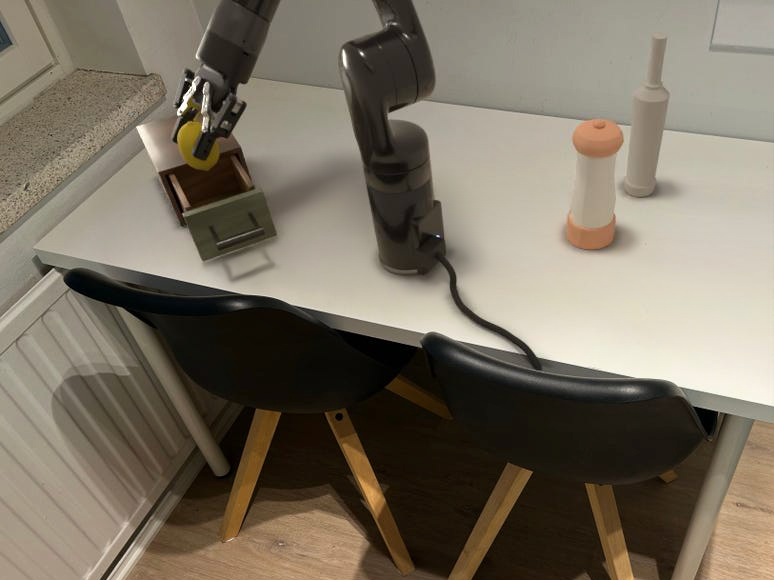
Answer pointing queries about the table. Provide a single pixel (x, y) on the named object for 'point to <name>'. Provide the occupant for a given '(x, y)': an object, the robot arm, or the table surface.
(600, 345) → the table surface
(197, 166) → the lemon
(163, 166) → the cabinet
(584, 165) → the pepper shaker
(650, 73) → the bottle
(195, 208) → the drawer
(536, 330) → the table surface
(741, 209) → the table surface
